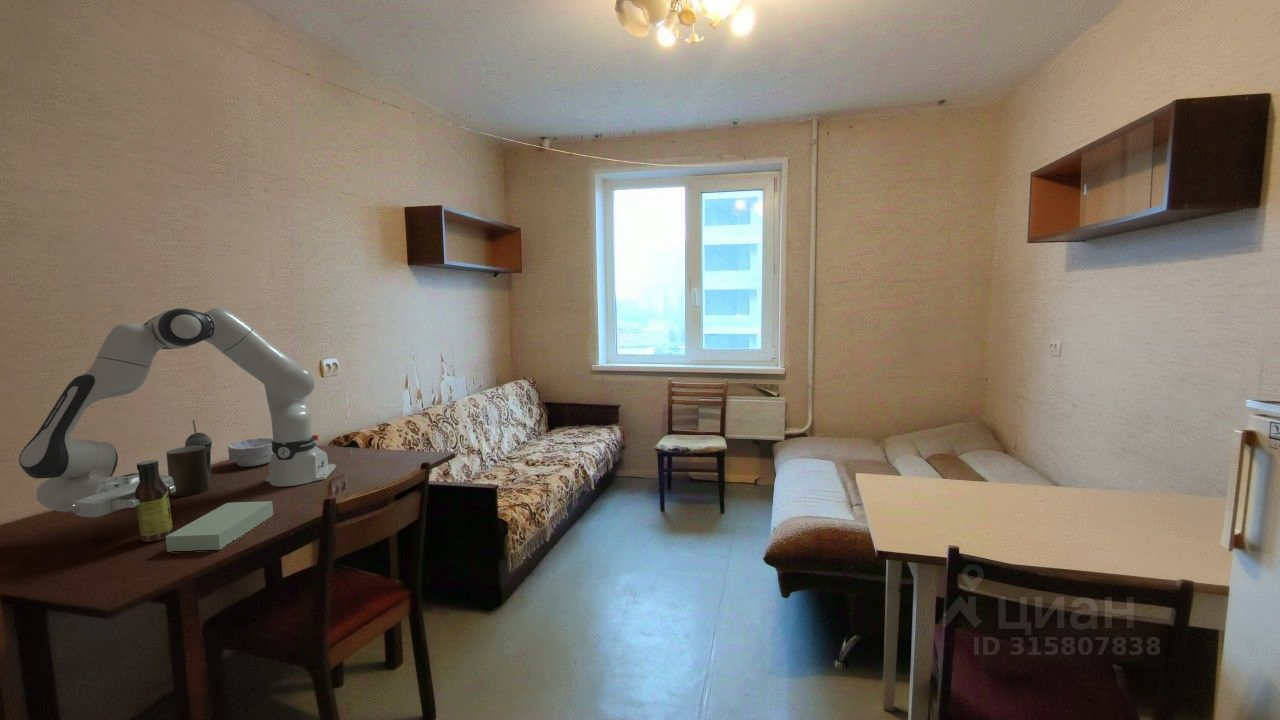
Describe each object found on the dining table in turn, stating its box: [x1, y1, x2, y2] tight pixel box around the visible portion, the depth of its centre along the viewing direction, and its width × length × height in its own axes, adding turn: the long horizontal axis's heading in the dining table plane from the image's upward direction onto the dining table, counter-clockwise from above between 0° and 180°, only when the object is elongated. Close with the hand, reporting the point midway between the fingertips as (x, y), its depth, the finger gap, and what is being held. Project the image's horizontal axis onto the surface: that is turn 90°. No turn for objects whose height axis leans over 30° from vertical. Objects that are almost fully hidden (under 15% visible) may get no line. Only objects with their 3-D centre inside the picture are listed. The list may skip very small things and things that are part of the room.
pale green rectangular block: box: [165, 500, 274, 553], centre depth 142 cm, size 22×12×4 cm, turn 5°
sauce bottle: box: [135, 459, 173, 543], centre depth 138 cm, size 7×6×20 cm
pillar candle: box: [165, 444, 210, 497], centre depth 173 cm, size 10×10×15 cm
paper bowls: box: [227, 437, 273, 468], centre depth 203 cm, size 15×15×8 cm
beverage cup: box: [184, 419, 213, 478], centre depth 186 cm, size 7×7×20 cm
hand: (155, 496), depth 138 cm, fingers open, 8 cm apart
